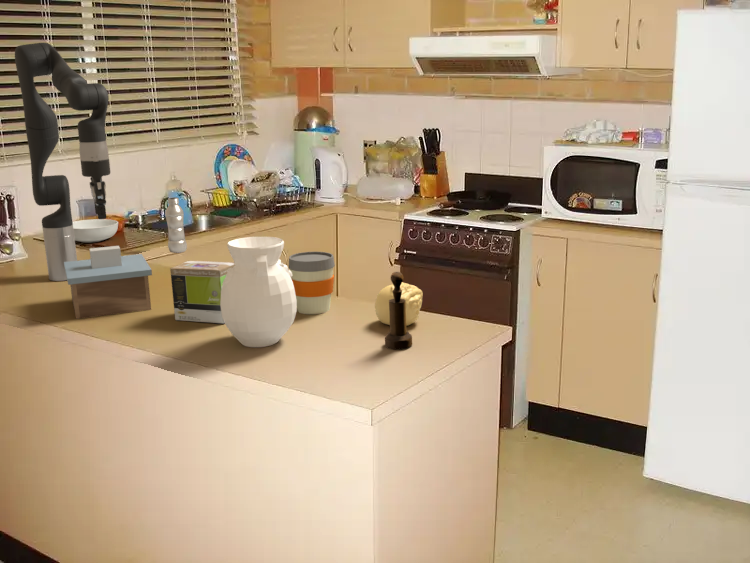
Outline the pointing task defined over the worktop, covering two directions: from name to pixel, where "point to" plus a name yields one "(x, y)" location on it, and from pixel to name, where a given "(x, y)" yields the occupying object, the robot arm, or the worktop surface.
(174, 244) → the plastic bottle
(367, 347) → the worktop surface
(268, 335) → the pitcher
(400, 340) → the dark brown tall piece
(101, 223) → the serving bowl
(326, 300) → the reusable coffee cup
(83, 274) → the lid
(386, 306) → the sculpture
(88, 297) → the box
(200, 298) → the tea box
